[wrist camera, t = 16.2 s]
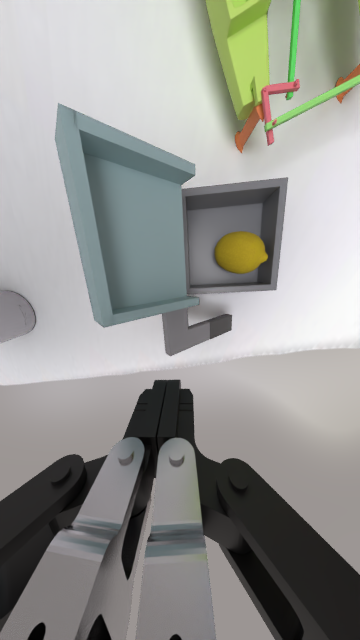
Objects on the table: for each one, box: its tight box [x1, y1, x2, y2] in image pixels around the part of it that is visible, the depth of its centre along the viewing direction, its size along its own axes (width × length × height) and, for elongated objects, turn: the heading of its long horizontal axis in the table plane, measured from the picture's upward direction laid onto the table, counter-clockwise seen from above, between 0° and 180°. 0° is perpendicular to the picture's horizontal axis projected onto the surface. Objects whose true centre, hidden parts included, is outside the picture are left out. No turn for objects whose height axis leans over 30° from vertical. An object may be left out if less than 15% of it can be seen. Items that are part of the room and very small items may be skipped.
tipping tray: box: [55, 103, 232, 356], centre depth 18 cm, size 19×19×3 cm
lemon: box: [215, 231, 268, 274], centre depth 24 cm, size 6×6×8 cm
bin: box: [181, 177, 288, 294], centre depth 25 cm, size 13×13×6 cm
